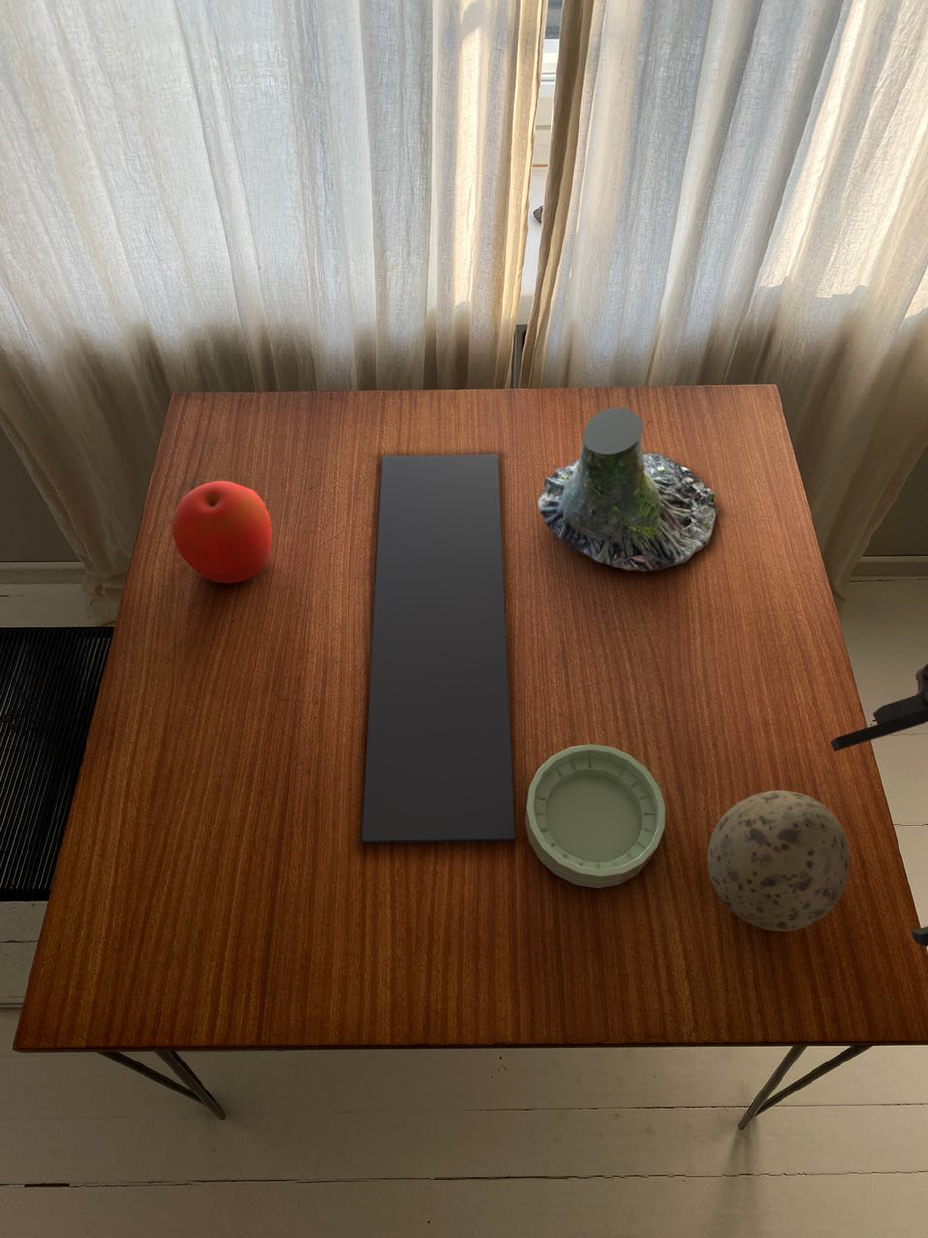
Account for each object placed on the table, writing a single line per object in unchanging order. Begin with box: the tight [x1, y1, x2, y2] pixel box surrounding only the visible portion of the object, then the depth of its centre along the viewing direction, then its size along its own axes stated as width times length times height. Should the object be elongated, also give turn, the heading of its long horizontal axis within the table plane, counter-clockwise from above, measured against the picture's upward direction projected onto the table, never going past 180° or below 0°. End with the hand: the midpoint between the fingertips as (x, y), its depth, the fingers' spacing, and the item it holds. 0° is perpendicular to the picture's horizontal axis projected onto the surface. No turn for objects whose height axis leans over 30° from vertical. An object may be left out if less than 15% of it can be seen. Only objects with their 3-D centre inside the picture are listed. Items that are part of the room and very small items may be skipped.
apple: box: [170, 480, 273, 584], centre depth 93 cm, size 10×10×12 cm
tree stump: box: [537, 406, 718, 573], centre depth 95 cm, size 18×20×18 cm
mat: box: [361, 454, 516, 844], centre depth 93 cm, size 48×14×1 cm, turn 1°
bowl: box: [524, 744, 666, 889], centre depth 79 cm, size 12×12×4 cm
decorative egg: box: [707, 789, 851, 932], centre depth 71 cm, size 11×11×15 cm
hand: (874, 838), depth 60 cm, fingers open, 13 cm apart
